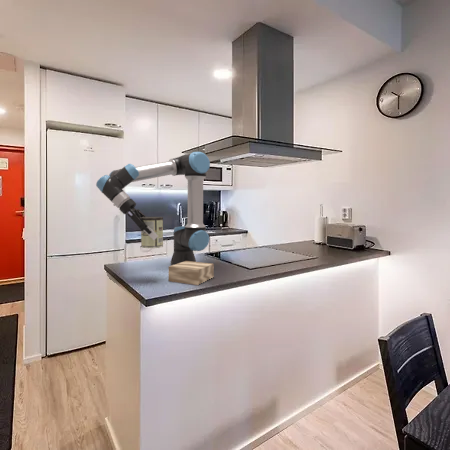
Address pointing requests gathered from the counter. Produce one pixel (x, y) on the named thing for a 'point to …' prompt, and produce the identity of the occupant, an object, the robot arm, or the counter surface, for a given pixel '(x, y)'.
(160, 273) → the counter surface
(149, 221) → the coffee can
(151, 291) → the counter surface
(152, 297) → the counter surface
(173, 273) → the birch block
